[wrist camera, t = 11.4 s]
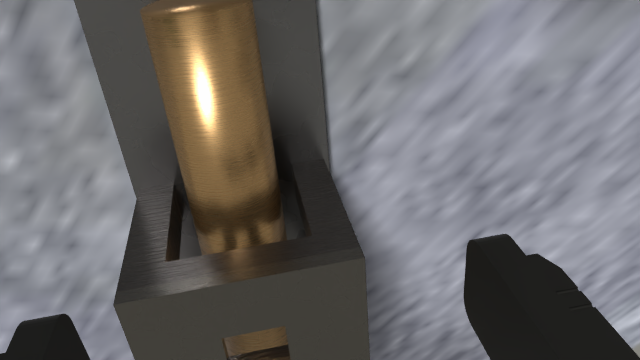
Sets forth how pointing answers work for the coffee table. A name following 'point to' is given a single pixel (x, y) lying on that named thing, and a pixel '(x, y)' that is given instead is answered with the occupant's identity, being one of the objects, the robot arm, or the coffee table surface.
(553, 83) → the coffee table surface
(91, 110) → the coffee table surface
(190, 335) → the dark grey holder
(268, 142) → the tube
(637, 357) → the robot arm
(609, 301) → the coffee table surface
